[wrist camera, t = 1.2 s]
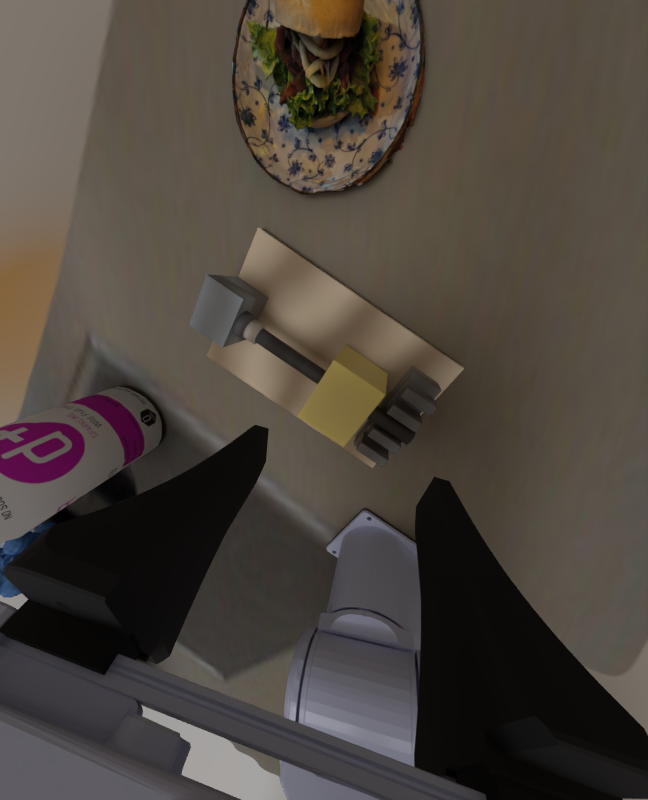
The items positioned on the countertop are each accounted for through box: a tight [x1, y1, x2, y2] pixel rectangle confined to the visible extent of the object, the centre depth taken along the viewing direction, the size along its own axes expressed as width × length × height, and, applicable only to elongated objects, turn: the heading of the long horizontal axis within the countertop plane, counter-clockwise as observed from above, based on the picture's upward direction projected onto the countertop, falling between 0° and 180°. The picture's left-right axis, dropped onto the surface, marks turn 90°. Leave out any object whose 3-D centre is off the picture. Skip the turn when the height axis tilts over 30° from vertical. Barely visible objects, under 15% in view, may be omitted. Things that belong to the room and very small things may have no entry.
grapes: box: [0, 522, 56, 597], centre depth 39 cm, size 12×7×12 cm, turn 93°
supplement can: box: [0, 387, 162, 543], centre depth 26 cm, size 8×8×15 cm
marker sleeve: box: [298, 345, 388, 447], centre depth 21 cm, size 4×5×5 cm
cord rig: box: [189, 227, 464, 468], centre depth 22 cm, size 19×12×5 cm, turn 59°
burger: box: [232, 0, 425, 194], centre depth 14 cm, size 12×12×8 cm
